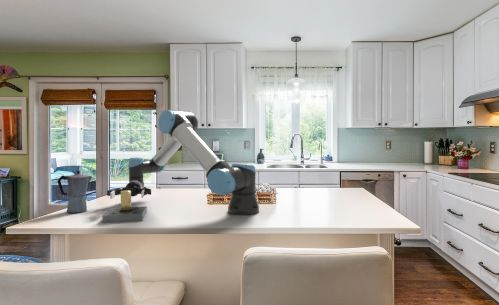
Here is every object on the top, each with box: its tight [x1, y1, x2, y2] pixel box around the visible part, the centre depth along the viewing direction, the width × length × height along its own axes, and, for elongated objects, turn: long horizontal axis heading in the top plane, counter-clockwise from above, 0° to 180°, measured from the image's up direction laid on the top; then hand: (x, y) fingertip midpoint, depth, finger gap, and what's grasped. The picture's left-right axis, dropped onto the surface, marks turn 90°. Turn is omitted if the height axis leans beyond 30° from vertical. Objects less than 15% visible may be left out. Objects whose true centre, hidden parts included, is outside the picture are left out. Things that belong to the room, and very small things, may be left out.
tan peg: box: [120, 190, 132, 212], centre depth 144 cm, size 4×4×12 cm
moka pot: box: [57, 170, 93, 214], centre depth 155 cm, size 10×15×20 cm, turn 137°
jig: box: [102, 206, 148, 224], centre depth 144 cm, size 16×16×3 cm
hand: (126, 195), depth 147 cm, fingers open, 13 cm apart
